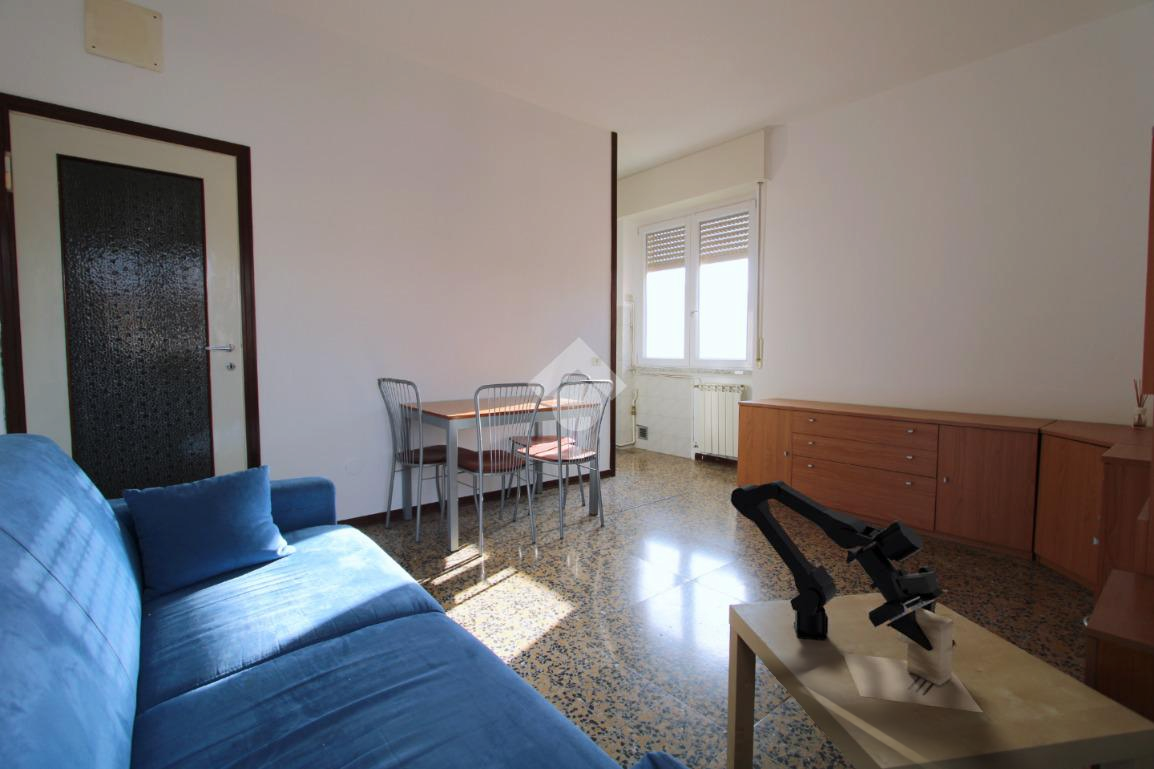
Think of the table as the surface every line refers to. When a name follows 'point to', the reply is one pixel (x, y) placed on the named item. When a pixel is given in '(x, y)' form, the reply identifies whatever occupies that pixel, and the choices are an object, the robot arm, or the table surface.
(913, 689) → the white flat sheet
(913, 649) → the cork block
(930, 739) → the table surface
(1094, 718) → the table surface
